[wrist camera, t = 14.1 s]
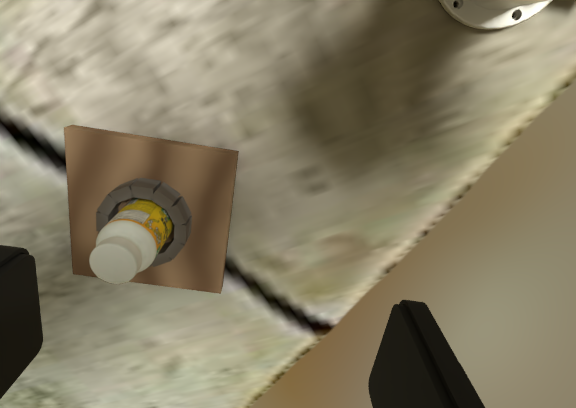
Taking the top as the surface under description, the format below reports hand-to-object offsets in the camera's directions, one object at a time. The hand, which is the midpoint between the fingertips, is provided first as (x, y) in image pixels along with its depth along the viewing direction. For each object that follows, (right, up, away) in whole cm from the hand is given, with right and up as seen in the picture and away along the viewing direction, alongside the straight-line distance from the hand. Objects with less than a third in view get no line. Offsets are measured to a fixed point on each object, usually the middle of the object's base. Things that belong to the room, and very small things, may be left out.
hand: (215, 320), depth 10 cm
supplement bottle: (-13, +2, +31) cm, 33 cm away
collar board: (-13, +2, +32) cm, 34 cm away
